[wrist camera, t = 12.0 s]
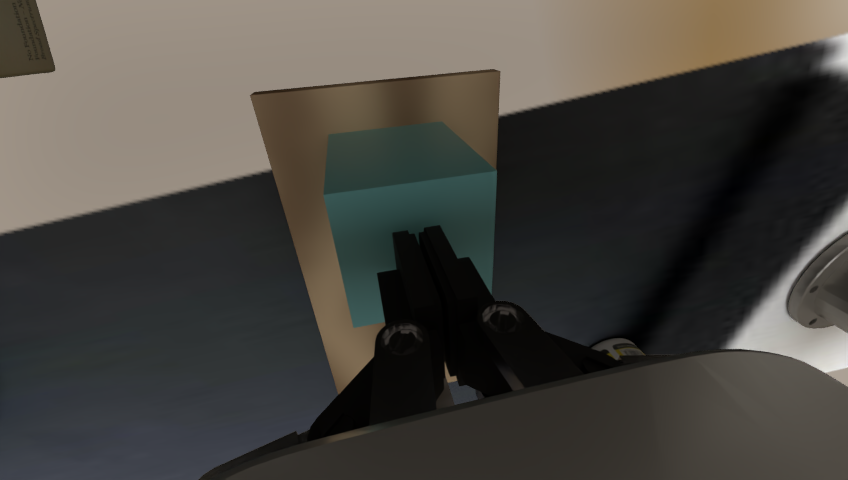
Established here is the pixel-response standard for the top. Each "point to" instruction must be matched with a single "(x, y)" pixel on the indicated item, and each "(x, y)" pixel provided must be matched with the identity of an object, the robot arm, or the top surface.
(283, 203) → the post board
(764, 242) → the top surface
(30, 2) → the skincare box
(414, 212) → the teal rectangular block
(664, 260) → the top surface
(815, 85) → the top surface
